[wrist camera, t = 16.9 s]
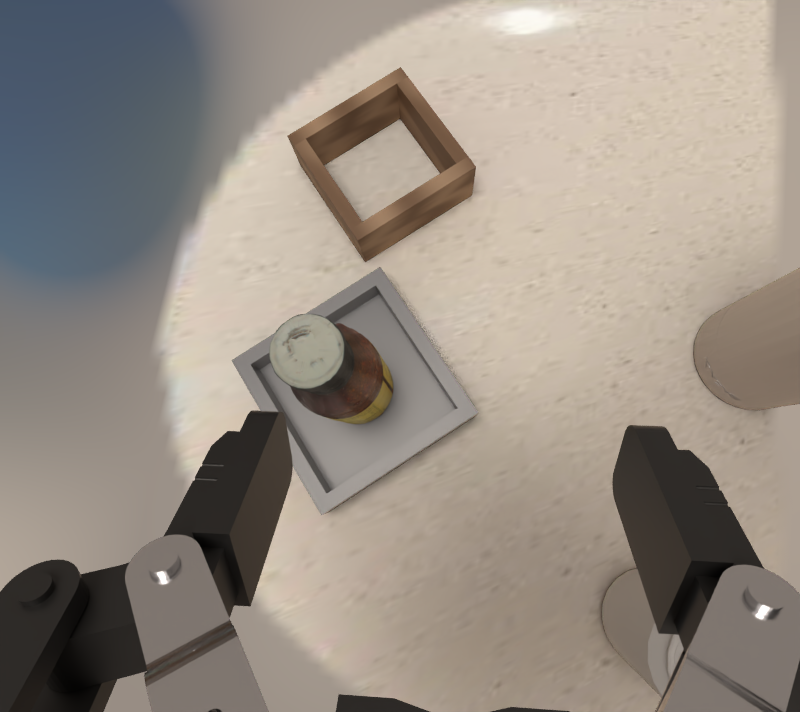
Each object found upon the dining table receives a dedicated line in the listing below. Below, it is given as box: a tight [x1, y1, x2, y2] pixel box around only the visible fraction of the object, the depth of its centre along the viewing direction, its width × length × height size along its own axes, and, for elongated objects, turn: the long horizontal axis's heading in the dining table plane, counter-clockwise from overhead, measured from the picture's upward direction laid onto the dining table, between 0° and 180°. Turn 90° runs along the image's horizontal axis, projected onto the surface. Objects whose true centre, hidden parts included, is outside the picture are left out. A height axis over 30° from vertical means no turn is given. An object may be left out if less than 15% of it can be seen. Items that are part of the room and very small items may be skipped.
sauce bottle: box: [269, 314, 393, 424], centre depth 38 cm, size 6×6×20 cm
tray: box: [232, 267, 479, 515], centre depth 47 cm, size 15×15×4 cm
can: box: [602, 569, 683, 697], centre depth 38 cm, size 8×8×12 cm
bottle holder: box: [288, 67, 476, 262], centre depth 50 cm, size 12×12×5 cm
